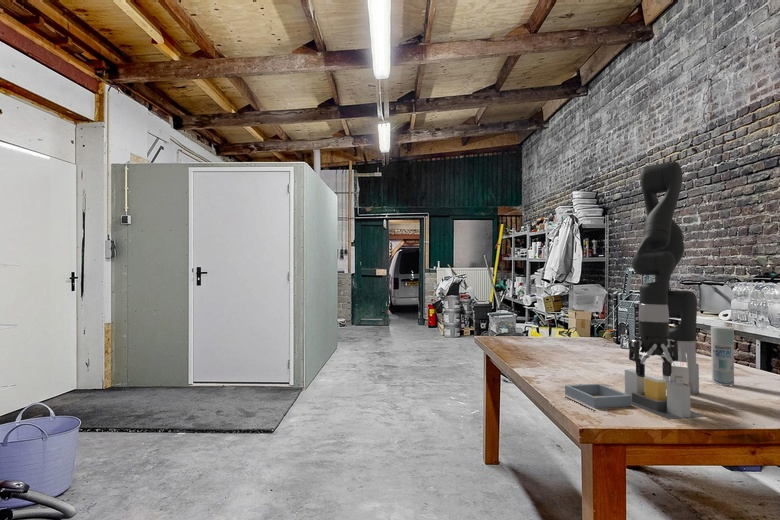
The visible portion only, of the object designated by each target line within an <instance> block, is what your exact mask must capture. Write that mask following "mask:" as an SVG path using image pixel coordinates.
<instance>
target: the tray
mask: <svg viewBox="0 0 780 520" xmlns="http://www.w3.org/2000/svg"><path fill="white" fill-rule="evenodd" d="M597 394H598V395H601V396H594V395H597ZM564 395H565V396H564V398H565V399H567V400H569V401H571V400H572V401H571V402H573V401H574V402H573V403H575V402H576V403H575V404H577V403H578V405H579V404H580V406H581V407H583V408H586V409H588V410H590V409H591V410H590V411H592V410H593V411H592V412H594V411H596V409H602V408H604V409H605V408H618V407H619V408H620V407H621V408H622V407H632V404H631V396H630V395H628V394H625V392H622V391H620V390H617V389H615V388H614V389H613V388H612V387H609V386H606V385H604V384H601V383H587V384H586V383H584V384H583V383H582V384H569V385H568V384H565V385H564ZM569 397H570V398H569Z"/></svg>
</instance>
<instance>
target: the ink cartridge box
mask: <svg viewBox="0 0 780 520" xmlns="http://www.w3.org/2000/svg"><path fill="white" fill-rule="evenodd" d="M686 359H687V353H686ZM669 382H677V383H680V384H683V385H687V386H689V370H688V360H687V362H677V361H674V362H673V363H672V373H671V376H669Z"/></svg>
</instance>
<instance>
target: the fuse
mask: <svg viewBox="0 0 780 520" xmlns="http://www.w3.org/2000/svg"><path fill="white" fill-rule="evenodd" d="M644 392H645V396H646V397H649V398H652V399H654V400H657V401H659V400H666V396H667V389H666V379H663V377H659V376H656V375H653V374H651V375H649V374H648V375H646V374H645V377H644Z"/></svg>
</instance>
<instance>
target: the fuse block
mask: <svg viewBox="0 0 780 520" xmlns="http://www.w3.org/2000/svg"><path fill="white" fill-rule="evenodd" d="M624 393H625V394H628V395H630V396H631V406H634V407H637V408H639V409H642V410H643V411H644V410H645V411H646V412H649V413H652V414H654V415H657V416H659V417H661V418H664V419H666V420H677V419H678V420H680V419H681V420H683V419H694V418H706V417H708V416H707V415H704V414H701V413H699V412H695V411H693V410H691V409H692V407H691V405H692V404H691V395H690V386H687V385H683V384H680V383H677V382H667V389H666V400H659V401H657V400H654V399H652V398H649V397H646V396H645V389H644V377H639V376H637V374H636V369H634V368H633V369H632V368H631V369H624Z"/></svg>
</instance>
